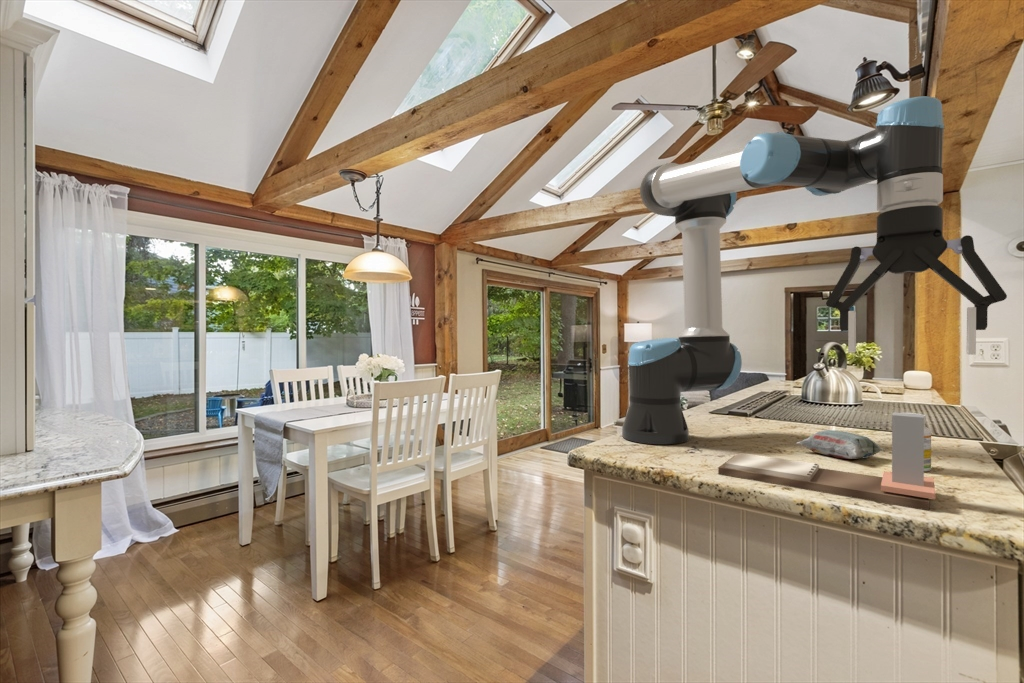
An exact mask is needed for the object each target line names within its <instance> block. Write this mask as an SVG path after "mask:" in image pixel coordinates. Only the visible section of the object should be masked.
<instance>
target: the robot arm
mask: <svg viewBox="0 0 1024 683" xmlns="http://www.w3.org/2000/svg"><path fill="white" fill-rule="evenodd" d="M942 104H943V103H942V102H941V100H940V99H939V98H937V97H934V96H933V97H931V96H922V95H921V96H915V97H909V98H904V99H902V100H898V101H895V102H893V103H890V104H888V105H886V106H885V107H884V108H883V109H881V110H880V111H879V113H878V114H877V117H876V123H875V129H873V130H871V131H869V132H867V133H864V134H861V135H859V136H857V137H854V138H851V139H847V140H839V139H830V138H821V137H814V136H813V137H812V136H804V135H798V134H797V135H796V134H789V133H785V132H781V131H779V132H763V133H758V134H757V135H755V136H753V138H752V139H751V140H750V141H749V142H747V144H746V145H745V146H742V147H739V148H735V149H732V150H727V151H725V152H724V151H723V152H721V153H717V154H714V155H710V156H707V157H703V158H699V159H697V160H696V159H695V160H693V161H689V162H685V163H681V164H679V163H676V162H669V163H664V164H661V165H658V166H655V167H653V168H652V169H650V170H649V171H648V172H646V174H645V175H644V176H643V179H642V181H641V184H640V189H639V195H640V198H641V201H642V203H643V205H644V207H646V208H647V210H649V211H650V212H652V213H654V214H656V215H658V216H664V217H674V221H675V226H674V227H675V229H676V230H677V231H679V232H680V233H681V235H682V236H681V237H682V238H681V240H682V243H681V244H682V247H681V248H682V271H683V273H682V275H683V280H682V281H683V283H682V284H683V317H684V330H683V331H682V332H681V333H679V335H678V337H664V338H655V339H646V340H642V341H637V342H634V343H633V344H631V346H630V347H629V350H628V351H629V353H628V361H627V362H628V378H629V379H628V381H629V382H628V384H629V388H628V390H629V392H628V395H629V398H628V399H629V404H628V405H629V406H628V408H627V411H626V415H625V418H624V421H623V424H622V428H621V432H622V435H621V436H622V438H624V439H625V440H628V441H630V442H635V443H640V444H648V445H677V444H683V443H686V442H688V441H689V439H690V431H689V428H688V427H689V426H688V424H687V421H686V418H685V416H684V413H683V410H682V407H681V406H682V405H681V397H682V396H681V394H682V393H687V392H688V393H689V392H703V391H704V392H714V391H719V390H725V389H728V388H730V387H731V386H733V384H734V383H735V382H737V379H739V376H740V375H741V371H742V364H743V363H742V360H743V359H742V354H741V352H740V351H739V350H738V349H739V348H738V347H737V346H736V345H735V344H734V343H731V342H730V341H731V340H730V333H728V332H727V331H726V329H724V328H723V305H722V304H723V301H722V300H723V298H722V270H721V267H722V266H721V234H720V231H721V230H720V229H721V228H722V227H723V226H724V225H725V224H726V223H727V217H728V216H730V214H731V213H732V212H733V210H734V205H736V203H737V197H738V192H744V191H751V190H758V189H763V188H764V189H765V188H770V187H776V186H791V187H792V186H793V187H803V188H805V189H806V191H808V192H810V193H811V194H812V195H814V196H815V197H816V196H819V197H822V196H823V197H824V196H828V195H833V194H834V195H836V194H840V193H842V192H844V191H846V190H850V189H853V188H856V187H860V186H861V185H864V184H865V185H866V184H869V183H871V182H875V181H876V211H878V213H879V212H880V213H879V214H878V216H877V217H876V242H875V245H874V247H860V246H854V247H852V248H851V251H850V252H851V253H850V257H849V262H848V264H847V265H846V266H845V267H846V268H845V269H844V271H843V272H842V274H841V276H840V278H839V280H838V281H837V283H836V284H835V287H834V288H833V290H832V291H831V294H829V297H828V299H827V300H826V303H825V305H826V306H827V307H828V308H833V309H836V310H837V311H839V329H840V331H841V332H847V333H848V334H847V335H848V338H847V340H848V341H847V345H848V347H847V348H848V350H847V352H848V353H852V354H854V353H856V352H857V312H856V310H851V308H852V307H853V306H855V304H857V302H858V301H859V300H861V298H863V297H864V296H865V294H867V293H868V291H870V290H871V289H872V288H873V286H875V284H876V283H878V282H879V281H880V280H881V279H882V278H883V277H884V276H885V275H886V274H887V273H888V272H889V273H891V274H894V275H899V274H900V275H902V274H906V273H914V274H916V273H924V272H925V271H927V270H929V269H930V270H931V271H933V272H934V273H935V274H936V275H937V276H939V277H940V278H941V279H943V280H944V281H945V282H946V283H948V285H950V286H951V287H952V288H953V289H955V290H956V291H957V292H958V293H960V294H961V295H962V296H963V297H965V298H966V299H967V300H968V301H969V302H971V304H973V305H974V306H973V307H971V306H970V307H967V308H966V355H970V356H972V355H973V356H975V355H976V354H977V331H986V329H987V327H988V309H989V306H991V305H993V304H996V303H1000V302H1003V301H1005V300H1006V299H1007V296H1008V295H1007V293H1006V292H1005V290H1004V289H1003V288H1002V286H1001V285H1000V284H999V282H998V281H997V280H996V278H995V276H993V274H992V273H991V272H992V271H991V270H989V269H988V267H987V266H986V264H985V263H984V261H983V260H982V259H981V258H980V256H979V254H978V253H977V252H976V249H975V244H974V238H973V236H972V235H969V234H968V235H964V236H962V237H960V238H955V239H949V240H946V239H945V237H944V236H943V233H944V232H943V230H944V229H943V227H944V225H943V221H944V220H943V217H944V216H943V215H944V210H943V208H942V207H941V206H939V205H941V203H942V202H943V201H944V175H943V169H944V168H943V151H944V150H943V147H944V146H943V145H944V130H946V129H945V125H944V118H943V117H944V116H943V105H942ZM947 249H950V250H952V251H953V253H955V254H956V255H961V256H962V258H963V260H964V261H965V263H966V264H967V266H968V267H969V269H970V271H972V273H973V274H974V276H975V277H976V279H978V281H979V282H980V284H981V285H982V287H983V288H984V289H985V291H986V292H987V293H988V295H985V296H984V295H982V294H981V293H980V292H979V291H977V290H976V289H975V288H974V287H972V286H971V285H970V284H969V283H968V282H967V281H965V280H964V279H963V278H961V277H960V276H959V275H958V274H956V273H955V272H954V271H953V270H951V268H949V267H948V266H947V265H946V264H944V263H943V262H942V261H941V260H940V257H941V256H942V255H943V254H944V253H945V251H946V250H947ZM870 256H873V257H874V258H875V259H876V261H877V262H879V264H878V265H877V267H875V268H874V270H873V271H872V272H871V273H870V274H869V275H868V276H867V277H866V278H865V279H864V281H862V283H860V284H859V285H858V286H857V288H855V289H854V290H853V291H852V292H851V293H850V294H849V295H848V296H847V297H846V298H845V300H844V301H841V298H842V297H843V295H844V293H845V292H846V290H847V288H848V286H849V285H850V283H851V281H852V280H853V278H854V276H855V275H856V272H857V271H858V269H859V268H860V265H861V263H864V262H866V261H867V260H868V258H869V257H870Z"/></svg>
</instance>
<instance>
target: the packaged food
mask: <svg viewBox="0 0 1024 683" xmlns="http://www.w3.org/2000/svg"><path fill="white" fill-rule="evenodd" d="M795 444H796V445H801V446H803V447H806V448H807V449H808V450H809V451H811V452H814V453H816V454H821V455H823V456H824V455H825V456H828V457H831V458H837V459H842V460H843V459H845V460H857V459H861V460H862V459H864V458H869V457H873V456H874V455H876V454H877V453H880V452H883V451H884V449H883V448H882V447H881V446H880V445H879V444H878V443H876V442H875V441H873V440H872V439H870V438H869V437H868V436H864V435H860V434H857V433H852V432H848V431H844V430H843V431H842V430H831V429H826V430H820V431H817V432H815V433H814V434H811V435H810V436H808V438H804V439H803V440H801V441H797V442H796V443H795Z"/></svg>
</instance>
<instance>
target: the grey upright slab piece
mask: <svg viewBox="0 0 1024 683" xmlns="http://www.w3.org/2000/svg"><path fill="white" fill-rule="evenodd" d="M908 413H909V412H892V414H891V471H886V470H883V473H882V477H883V478H882V482H881V491H886V492H892V493H898V494H904V495H910V496H917V497H923V498H929V500H936V488H935V485H936V484H935V479H934V477H927V476H925V472H924V426H925V424H924V415H925V414H923V415H921V414H922V413H917V414H908Z"/></svg>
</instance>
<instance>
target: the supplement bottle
mask: <svg viewBox="0 0 1024 683" xmlns="http://www.w3.org/2000/svg"><path fill="white" fill-rule="evenodd" d="M907 413H908V414H918V412H917V413H915V412H907ZM920 414H921V415H924V473H925V472H926V473H927V472H930V471H931V470H932V431H931V429H930V428H928V427H927V426H925V424H926V422H927V415H925V414H923V413H920Z"/></svg>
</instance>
